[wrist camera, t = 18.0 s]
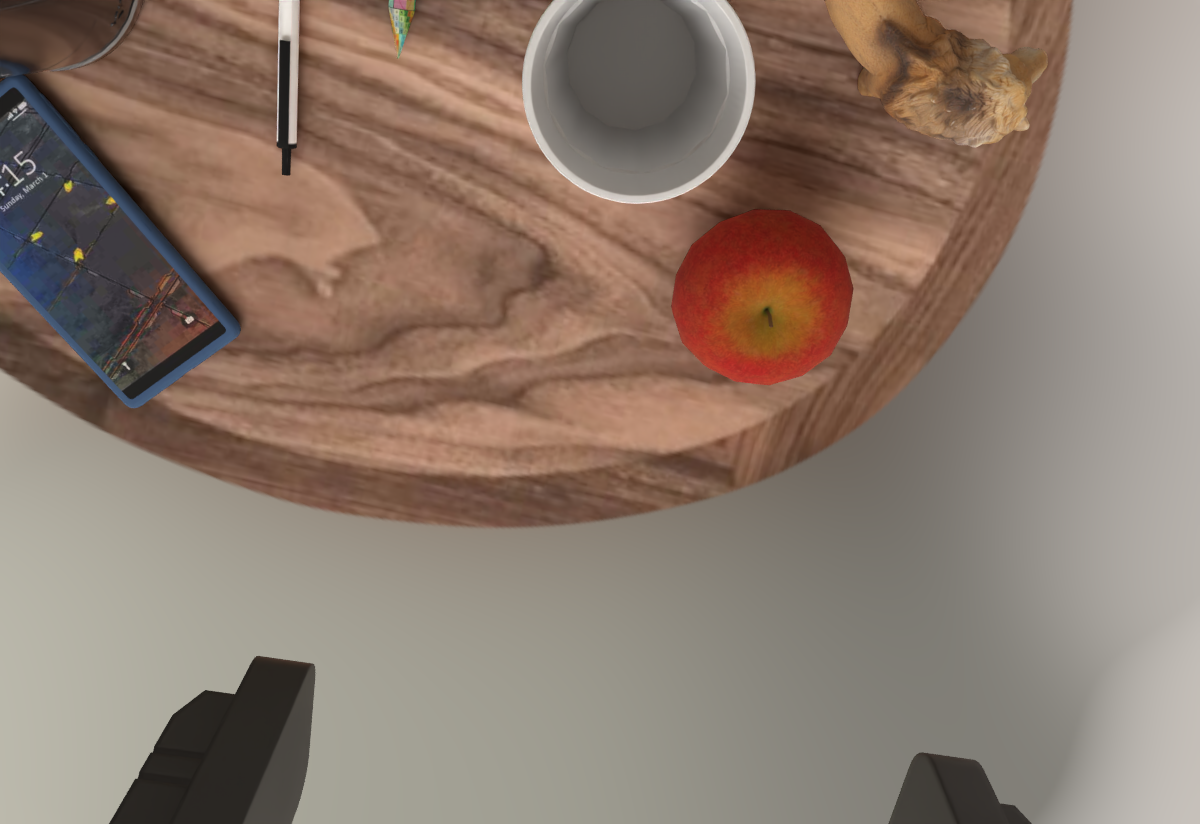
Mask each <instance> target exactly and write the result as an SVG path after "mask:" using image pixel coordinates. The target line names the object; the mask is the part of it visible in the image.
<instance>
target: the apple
mask: <svg viewBox="0 0 1200 824" xmlns="http://www.w3.org/2000/svg"><path fill="white" fill-rule="evenodd" d="M852 294H853V285H852V281H851V278H850V274H849V270H848V266H847V263H846V259H845V256H844V255H843V254H842V252H841V251H840V250H839V248H838V247H837V246H836V245H835V243H834V242H833V241H832V240H831V238H830V237H829V236H828V235H827V233H826V232H825V231H824V229H823V228H822V227H821V226H820V225H818V224H816V223H814V222H812V221H810V220H808V219H806V218H804V217H802V216H800V215H798V214H796V213H794V212H792V211H788V210H763V209H754V210H751V211H748V212H746V213H743V214H740V215H738V216H735V217H732V218H729V219H727V220H724V221H721V222H719V223H718V224H717V225H716V226H715V227H713V228H712V229H711V230H710V231H708V232H707V233H706V234H705V235H703V236H702V237H701V238H700V239H698V240H697V241H696V242H695V243H694V244H692V246H691V248H690V250H689V251H688V253H687V255H686V257H685V259H684V261H683V263H682V265H681V267H680V268H679V270H678V272H677V274H676V279H675V286H674V292H673V299H672V305H671V307H672V311H673V315H674V318H675V321H676V324H677V328H678V331H679V334H680V337H681V340H682V343H683V344H684V345H685V346H686V347H687V348H688V349H689V350H690V351H691V352H692V353H693V354H694V355H695V356H696V357H697V358H698V359H699V360H700V361H701V362H702V363H703V364H704V365H705V366H706V367H708V368H710V369H712V370H714V371H716V372H718V373H720V374H722V375H724V376H726V377H728V378H730V379H732V380H734V381H736V382H745V383H754V384H763V385H771V384H775V383H778V382H782V381H785V380H789V379H792V378H796V377H799V376H803V375H804V374H805V373H807V372H808V371H809V370H811V369H812V368H814V367H815V366H816V365H818V364H819V363H820V362H822V361H823V360H824V359H826V358H827V357H829V356H830V355H831V354H832V352H833V350H834V348H835V346H836V345H837V343H838V341H839V339H840V337H841V336H842V334H843V332H844V330H845V328H846V327H847V324H848V319H849V313H850V307H851V301H852Z"/></svg>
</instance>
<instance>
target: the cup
mask: <svg viewBox="0 0 1200 824" xmlns="http://www.w3.org/2000/svg"><path fill="white" fill-rule="evenodd" d="M522 91H523V101H524V107H525V112H526V116H527V119H528V123H529V126H530V128H531V131H532V133H533V135H534V138H535V140H536V142H537V143H538V145H539V147H540V149H541V150H542V152H543V153H544V155H545V156H546V157H547V159H548V160H549V161H550V162H551V164H552V165H553V166H554V167H555V168H556V169H557V170H558V171H559V172H560V173H561V174H562V175H563V176H564V177H566V178H567V179H568V180H569V181H571V182H572V183H573V184H575V185H576V186H578V187H580V188H581V189H583V190H585V191H587V192H589V193H591V194H593V195H596V196H598V197H601V198H604V199H608V200H612V201H616V202H622V203H652V202H658V201H663V200H667V199H670V198H673V197H676V196H679V195H681V194H684V193H686V192H688V191H690V190H692V189H693V188H695V187H697V186H698V185H700V184H701V183H703V182H704V181H706V180H707V179H708V178H709V177H711V176H712V175H713V174H714V173H715V172H716V171H717V170H718V169H719V168H720V167H721V166H722V165H723V164H724V163H725V162H726V161H727V159H728V158H729V157H730V156H731V154H732V153H733V151H734V150H735V148H736V147H737V145H738V143H739V142H740V140H741V138H742V136H743V134H744V132H745V129H746V127H747V124H748V121H749V118H750V115H751V111H752V107H753V102H754V95H755V65H754V58H753V53H752V49H751V45H750V42H749V39H748V36H747V34H746V31H745V29H744V27H743V25H742V23H741V21H740V19H739V17H738V15H737V14H736V12H735V11H734V9H733V8H732V7H731V5H730V4H729V3H728V1H727V0H553V1H552V2H551V4H550V5H549V6H548V7H547V9H546V10H545V12H544V13H543V15H542V16H541V18H540V19H539V21H538V23H537V25H536V27H535V29H534V31H533V33H532V36H531V38H530V41H529V44H528V47H527V51H526V55H525V60H524V65H523V75H522Z"/></svg>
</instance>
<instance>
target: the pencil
mask: <svg viewBox="0 0 1200 824" xmlns="http://www.w3.org/2000/svg"><path fill="white" fill-rule="evenodd" d="M415 2H416V0H389V6H388V7H389V13H390V19H391V25H392V31H393V37H394V43H395V49H396V55H397V58H399V56H400V53H401V50H402V47H403V44H404V41H405V38H406V35H407V33H408V30H409V27H410V24H411V21H412V18H413V15H414V12H415Z"/></svg>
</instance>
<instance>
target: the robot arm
mask: <svg viewBox="0 0 1200 824" xmlns="http://www.w3.org/2000/svg"><path fill="white" fill-rule="evenodd" d="M142 3H143V0H0V78H5V77H11V76H17V75H23V74H31V73H37V72H43V71H62V70H69V69H74V68H79V67H83V66H86V65H89V64H92V63H94V62H96V61H99V60H100V59H102V58H104V57H105V56H107V55H108V54H110V53H111V52H112V51H114V50H115V49H116V48H117V47H118V46H119V45H120V44H121V43H122V42H123V41H124V39H125V38H126V37H127V36H128V34H129V33H130V31H131V30H132V28H133V26H134V24H135V22H136V20H137V18H138V16H139V13H140V10H141V7H142ZM314 684H315V666H314V664H311V663H304V662H297V661H290V660H283V659H276V658H269V657H261V656H256V657H255V658H254V660H253V661H252V663H251V664H250V666H249V668H248V670H247V672H246V674H245V676H244V678H243V680H242V682H241V684H240V686H239V688H238V690H237V692H236V694H229V693H222V692H215V691H207V690H205V691H204V692H202V693H201V694H200V695H198V696H197V697H196V698H194V699H193V700H192V701H191V702H189V703H188V704H186V705H185V706H184V707H183V708H181V709H180V710H179V711H177V712H176V713H175V714H173V715H172V717H171V719H170V720H169V722H168V724H167V726H166V727H165V729H164V731H163V732H162V734H161V736H160V738H159V740H158V741H157V743H156V744H155V746H154V751H153V753H150V755H149V756H148V758H147V760H146V761H145V763H144V765H143V767H142V768H141V770H140V772H139V777H138V779H135V780H134V782H133V784H132V785H131V787H130V789H129V791H128V792H127V795H126V796H125V797H124V799H123V801H122V803H121V804H120V806H119V808H118V809H117V811H116V813H115V815H114V817H113V818H112V820H111V821H110V823H109V824H292V821H293V818H294V815H295V812H296V810H297V807H298V804H299V801H300V797H301V794H302V790H303V786H304V782H305V777H306V772H307V766H308V758H309V748H310V735H311V723H312V710H313V697H314ZM889 824H1031V822H1029V821H1028V819H1027V818H1026V817H1025V816H1024V815H1023V814H1022V813H1021V812H1020V811H1019V810H1018V809H1017V808H1016V807H1015V806H1013V805H1006V804H1000V803H999V801H998V799H997V797H996V795H995V793H994V790H993V788H992V786H991V784H990V782H989V780H988V778H987V776H986V774H985V772H984V770H983V768H982V766H981V765H980V764H979V763H978V762H977V761H975V760H971V759H964V758H957V757H950V756H942V755H936V754H928V753H919V754H917V755H916V756H915V757H914V758H913V760H912V762H911V764H910V767H909V769H908V772H907V775H906V778H905V780H904V783H903V786H902V788H901V791H900V794H899V797H898V799H897V802H896V805H895V808H894V810H893V813H892V816H891V818H890V821H889Z"/></svg>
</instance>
